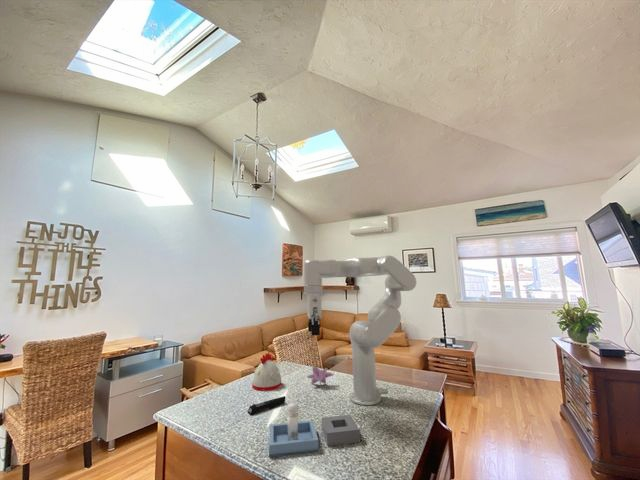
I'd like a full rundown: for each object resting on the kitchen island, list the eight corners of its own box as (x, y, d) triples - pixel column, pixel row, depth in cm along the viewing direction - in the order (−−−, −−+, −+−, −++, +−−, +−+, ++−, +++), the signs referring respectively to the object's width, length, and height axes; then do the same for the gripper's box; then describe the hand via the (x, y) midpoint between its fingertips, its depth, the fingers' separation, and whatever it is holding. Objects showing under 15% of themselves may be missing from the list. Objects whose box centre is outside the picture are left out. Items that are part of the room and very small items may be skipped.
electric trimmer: (287, 405, 110) (287, 397, 111) (250, 416, 101) (251, 407, 102) (282, 402, 113) (282, 394, 114) (247, 413, 104) (247, 403, 105)
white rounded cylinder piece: (297, 436, 85) (297, 402, 87) (298, 442, 82) (298, 406, 84) (287, 438, 85) (287, 403, 86) (287, 443, 82) (287, 407, 83)
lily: (338, 388, 129) (334, 367, 135) (328, 385, 121) (324, 362, 127) (315, 394, 132) (312, 373, 138) (304, 392, 123) (301, 369, 129)
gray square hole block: (350, 426, 92) (350, 414, 93) (359, 442, 83) (359, 429, 83) (321, 429, 91) (321, 417, 91) (327, 446, 81) (327, 433, 82)
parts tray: (312, 430, 90) (312, 420, 91) (318, 451, 78) (318, 439, 79) (269, 434, 88) (269, 424, 88) (268, 457, 76) (269, 445, 77)
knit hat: (246, 387, 131) (247, 354, 133) (267, 379, 142) (267, 348, 144) (266, 393, 123) (267, 358, 125) (287, 384, 134) (287, 351, 136)
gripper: (325, 290, 105) (326, 336, 102) (318, 289, 122) (319, 329, 119) (306, 290, 104) (307, 337, 101) (302, 290, 121) (302, 330, 118)
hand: (313, 333), depth 110 cm, fingers open, 9 cm apart
